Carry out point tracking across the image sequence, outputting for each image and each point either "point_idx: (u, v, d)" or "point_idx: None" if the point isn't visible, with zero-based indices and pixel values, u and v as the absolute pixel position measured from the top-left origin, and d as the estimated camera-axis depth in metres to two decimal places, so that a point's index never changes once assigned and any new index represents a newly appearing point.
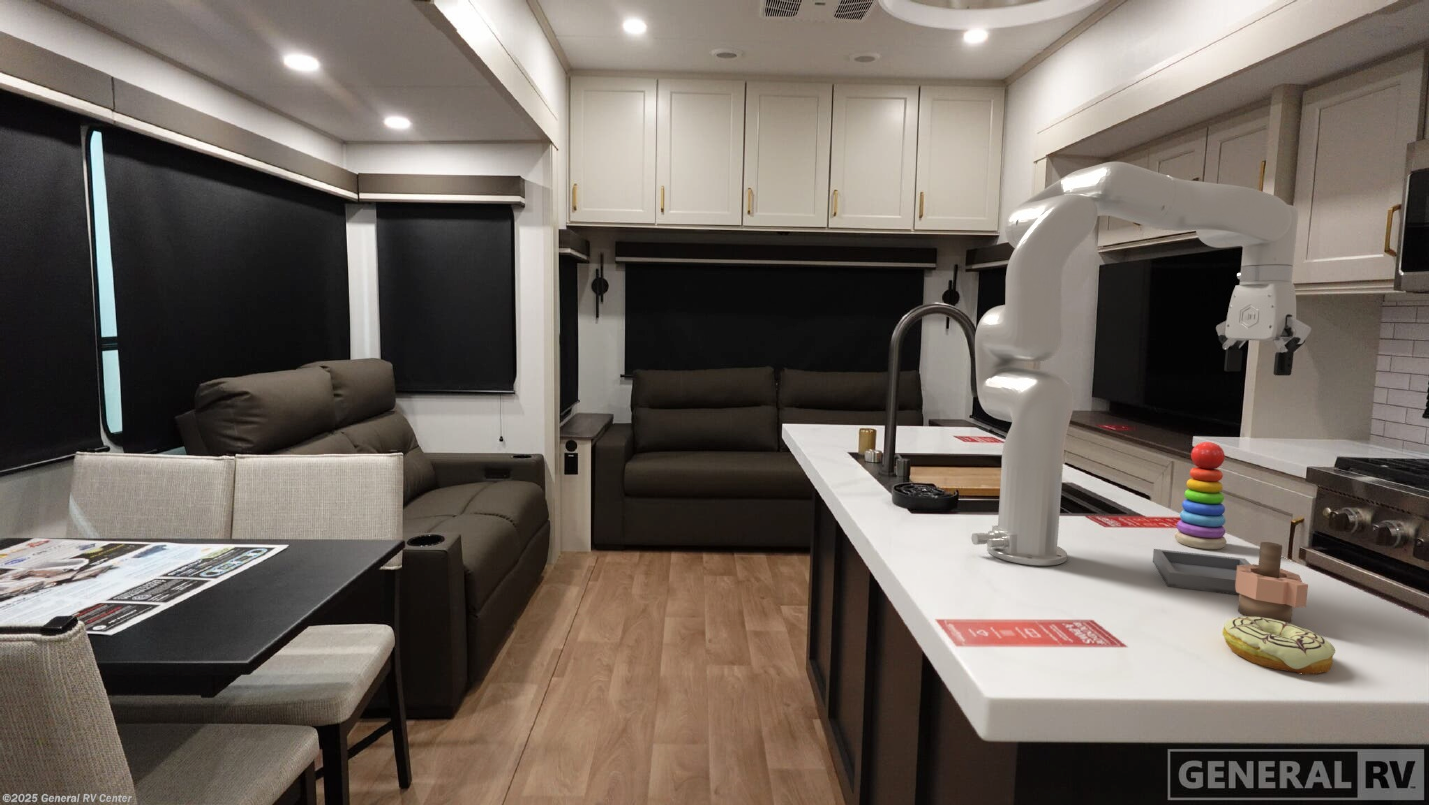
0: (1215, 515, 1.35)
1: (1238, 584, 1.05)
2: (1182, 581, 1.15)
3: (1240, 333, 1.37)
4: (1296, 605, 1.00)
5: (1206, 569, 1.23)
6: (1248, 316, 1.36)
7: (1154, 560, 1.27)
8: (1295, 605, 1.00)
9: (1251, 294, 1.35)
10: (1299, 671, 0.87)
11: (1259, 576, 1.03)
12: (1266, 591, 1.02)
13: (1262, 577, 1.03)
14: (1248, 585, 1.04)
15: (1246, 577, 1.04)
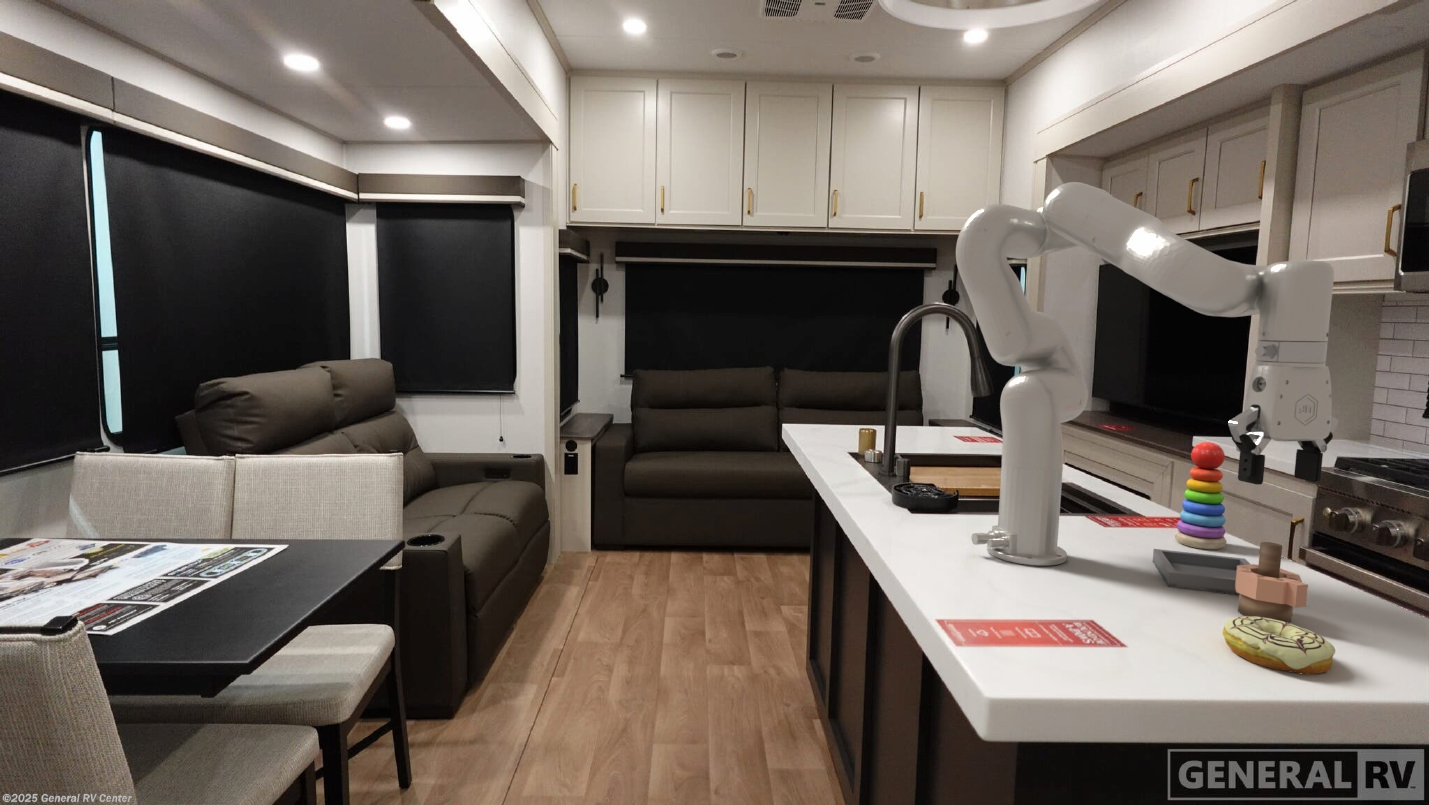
0: (1215, 515, 1.35)
1: (1238, 584, 1.05)
2: (1182, 581, 1.15)
3: (1295, 433, 1.00)
4: (1296, 605, 1.00)
5: (1206, 569, 1.23)
6: (1305, 409, 1.00)
7: (1154, 560, 1.27)
8: (1295, 605, 1.00)
9: (1308, 379, 1.00)
10: (1299, 671, 0.87)
11: (1259, 576, 1.03)
12: (1266, 591, 1.02)
13: (1262, 577, 1.03)
14: (1248, 585, 1.04)
15: (1246, 577, 1.04)
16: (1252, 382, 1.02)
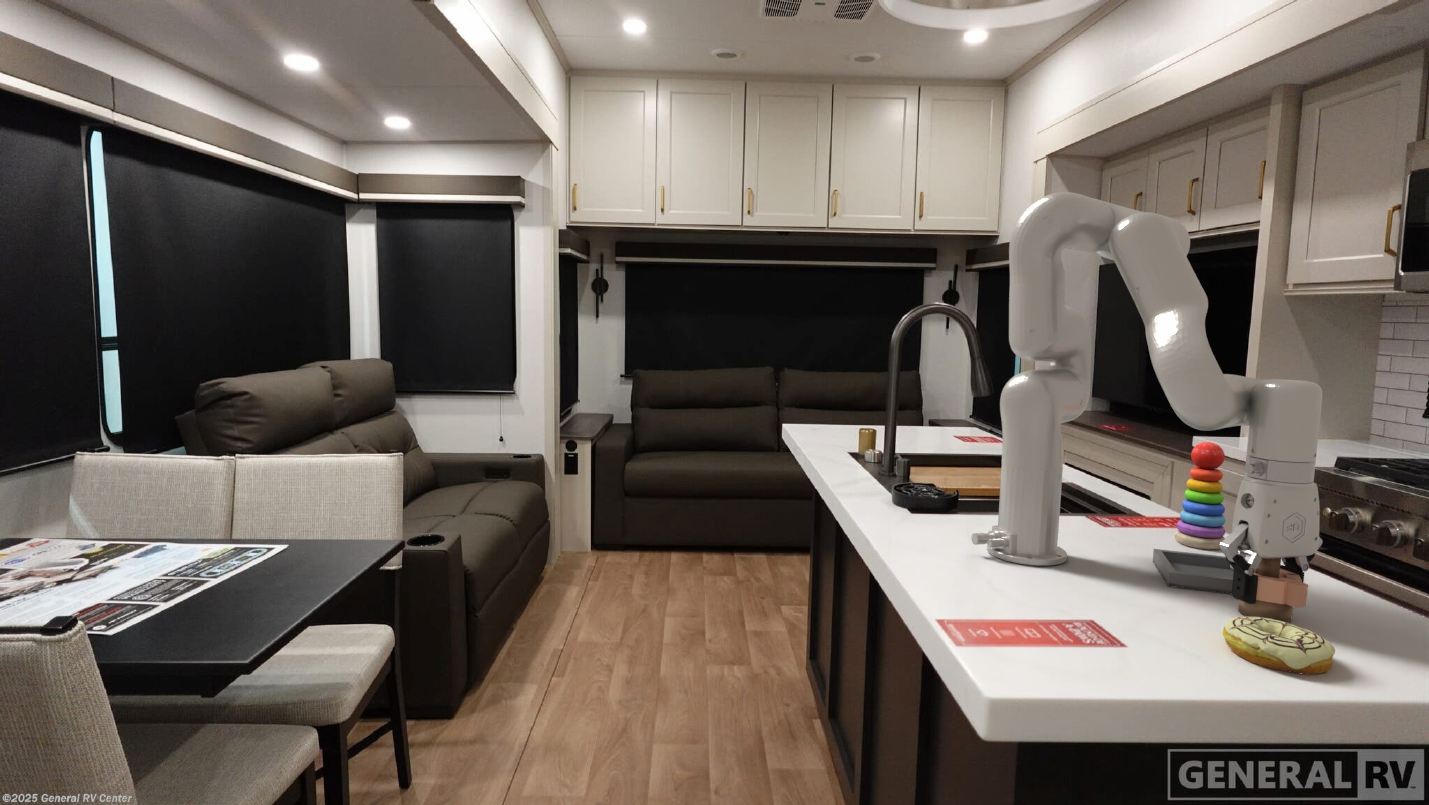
0: (1215, 515, 1.35)
1: None
2: (1182, 581, 1.15)
3: (1283, 550, 1.01)
4: (1296, 605, 1.00)
5: (1206, 569, 1.23)
6: (1292, 527, 1.01)
7: (1154, 560, 1.27)
8: (1295, 605, 1.00)
9: (1296, 498, 1.01)
10: (1299, 671, 0.87)
11: (1259, 576, 1.03)
12: (1266, 591, 1.02)
13: (1262, 577, 1.03)
14: None
15: None
16: (1241, 497, 1.03)
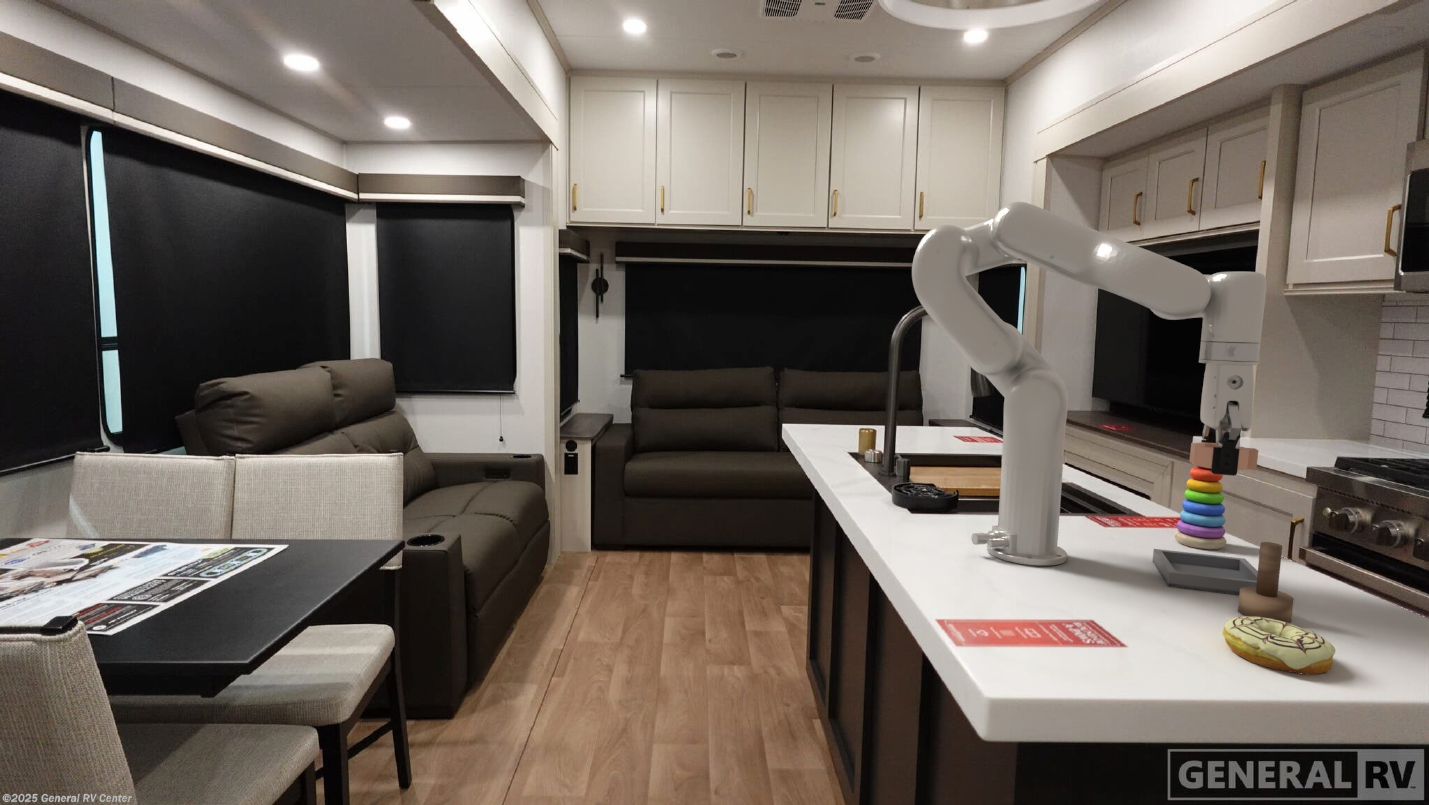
0: (1215, 515, 1.35)
1: None
2: (1182, 581, 1.15)
3: None
4: (1255, 467, 1.15)
5: (1206, 569, 1.23)
6: None
7: (1154, 560, 1.27)
8: None
9: None
10: (1299, 671, 0.87)
11: None
12: (1240, 461, 1.14)
13: None
14: None
15: None
16: (1225, 380, 1.12)
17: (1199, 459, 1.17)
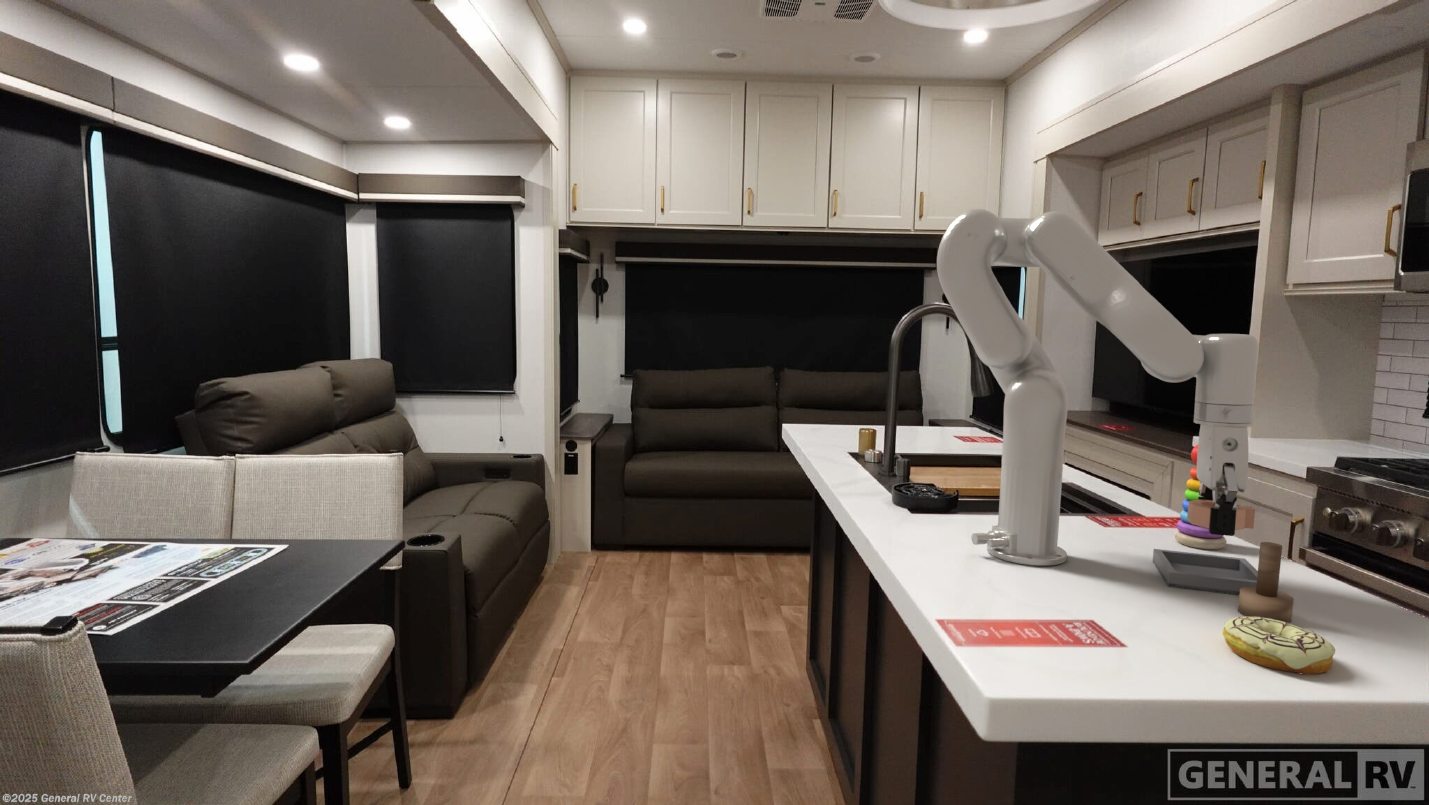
0: None
1: None
2: (1182, 581, 1.15)
3: None
4: None
5: (1206, 569, 1.23)
6: None
7: (1154, 560, 1.27)
8: (1253, 526, 1.16)
9: None
10: (1299, 671, 0.87)
11: None
12: (1237, 521, 1.15)
13: None
14: None
15: None
16: (1220, 442, 1.13)
17: (1197, 518, 1.18)
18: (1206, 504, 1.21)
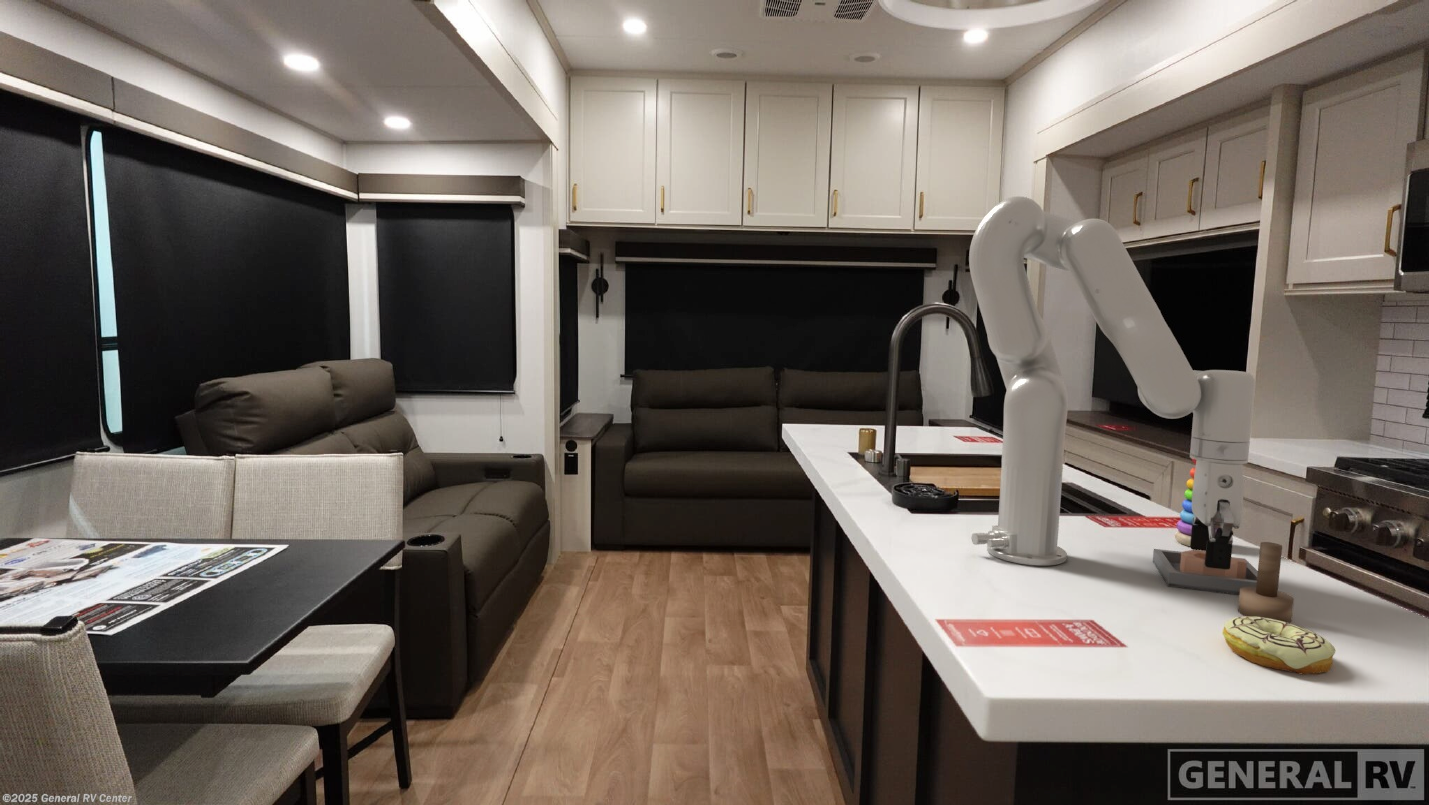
0: None
1: (1204, 574, 1.17)
2: (1182, 581, 1.15)
3: None
4: None
5: None
6: None
7: (1154, 560, 1.27)
8: None
9: None
10: (1299, 671, 0.87)
11: None
12: (1229, 574, 1.16)
13: None
14: (1215, 573, 1.16)
15: None
16: (1216, 479, 1.14)
17: (1189, 570, 1.19)
18: (1199, 555, 1.22)
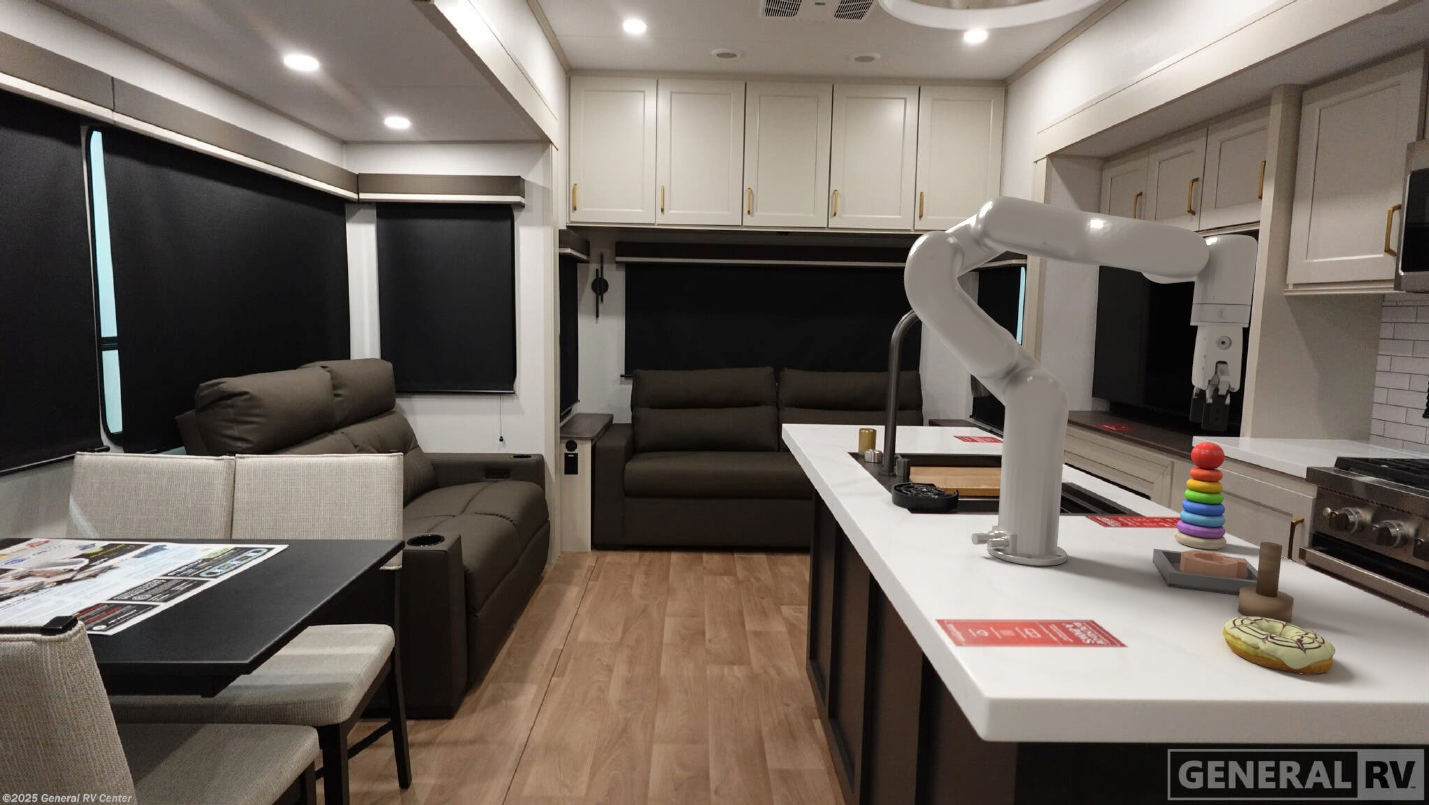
0: (1215, 515, 1.35)
1: (1204, 574, 1.17)
2: (1182, 581, 1.15)
3: None
4: None
5: None
6: None
7: (1154, 560, 1.27)
8: None
9: None
10: (1299, 671, 0.87)
11: (1220, 562, 1.17)
12: (1229, 574, 1.16)
13: (1224, 563, 1.17)
14: (1215, 573, 1.16)
15: (1213, 566, 1.16)
16: (1214, 341, 1.15)
17: (1189, 570, 1.19)
18: (1199, 555, 1.22)
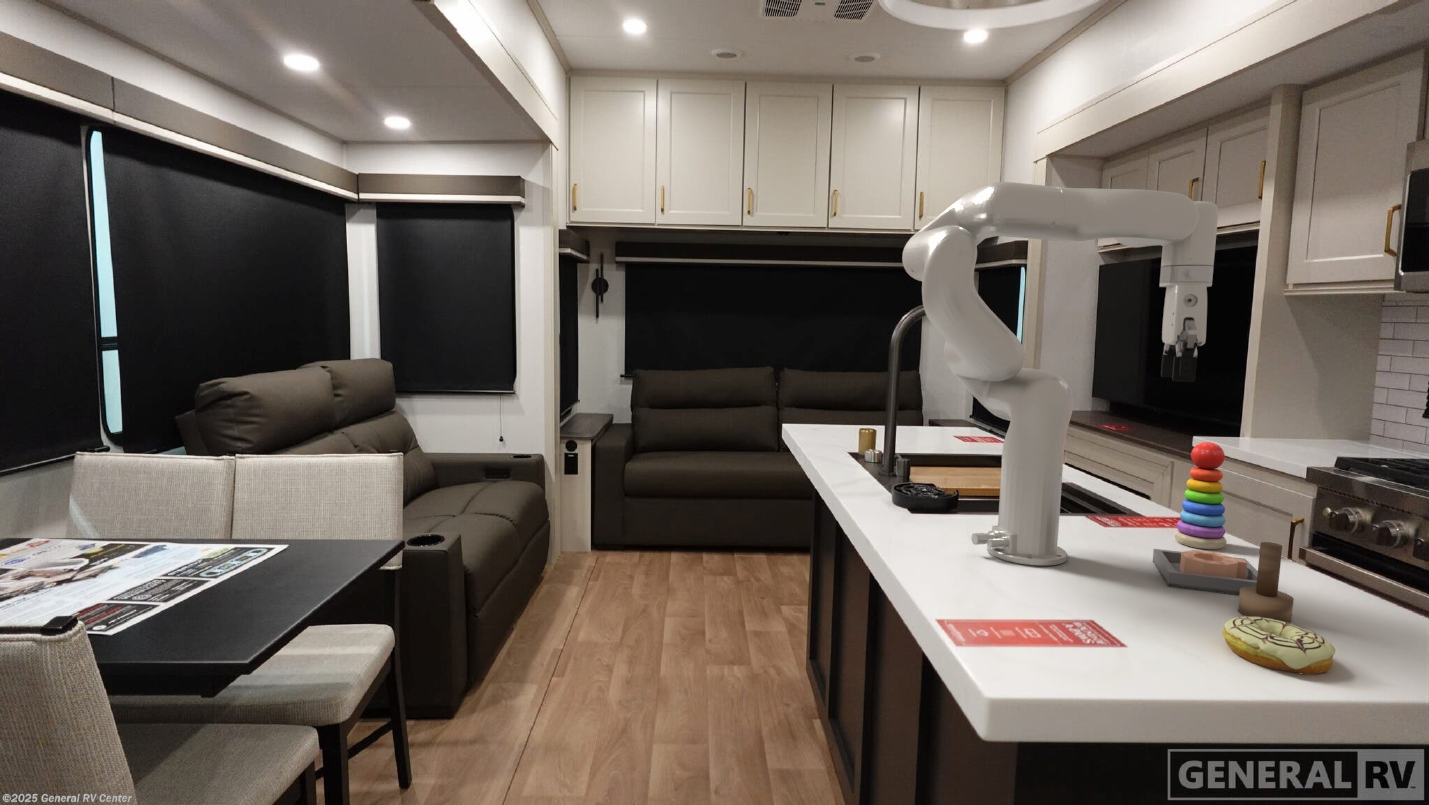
0: (1215, 515, 1.35)
1: (1204, 574, 1.17)
2: (1182, 581, 1.15)
3: None
4: None
5: None
6: None
7: (1154, 560, 1.27)
8: None
9: None
10: (1299, 671, 0.87)
11: (1220, 562, 1.17)
12: (1229, 574, 1.16)
13: (1224, 563, 1.17)
14: (1215, 573, 1.16)
15: (1213, 566, 1.16)
16: (1182, 299, 1.25)
17: (1189, 570, 1.19)
18: (1199, 555, 1.22)
